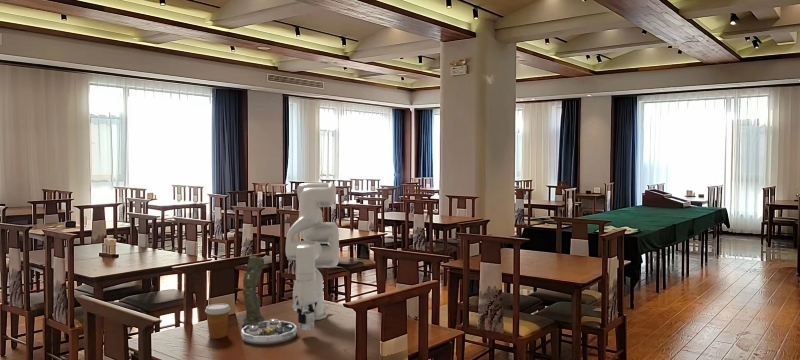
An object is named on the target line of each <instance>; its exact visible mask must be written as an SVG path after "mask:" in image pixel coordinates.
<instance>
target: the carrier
mask: <svg viewBox="0 0 800 360" xmlns="http://www.w3.org/2000/svg"><path fill="white" fill-rule="evenodd" d="M297 332H298V326H297V325H296V324H295V323H294V322H291V321H286V320H279V319H278V318H270V319H268V320H264V321H263V322H256V323H253V324H250V325H246V326H245V327H244V328H241V330H240V336H241V340H242V341H243V342H244V343H246V344H251V345H256V346H266V345H267V346H268V345H277V344H282V343H287V342H289V341H291V340H293V339H295V338H296V336H297Z"/></svg>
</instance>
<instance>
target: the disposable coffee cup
mask: <svg viewBox="0 0 800 360" xmlns="http://www.w3.org/2000/svg"><path fill="white" fill-rule="evenodd" d="M230 310H231V307H230V305H229V304H227V303H213V304H208V305H207V306H206V307H205V310H204V312H205V314H206V321H207V326H208V334H209V338H211V339H223V338H226V336H227V333H228V323H229V314H230V313H229V312H230Z"/></svg>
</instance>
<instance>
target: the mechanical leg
mask: <svg viewBox="0 0 800 360" xmlns="http://www.w3.org/2000/svg"><path fill="white" fill-rule="evenodd" d="M264 265H265V258H263V257H262V256H259V255H250V256H249V257H248V263H247V267H246V271H245V272H244V274H243V281H242V284H243V287H242V293H243V299H244V300H243V301H244V306H245V311H246V313H245V317H244V319H243V324H242V326H241V327H242V328H241V329H243V328H244V327H245V326H246V325H250V324H253V323H256V322H263V321H265V317H263V315H262V314H261V298H260V296H259V295H258V294H257V286H259V284H260V280H261V275H262V273H263V272H262V271H263V268H264Z"/></svg>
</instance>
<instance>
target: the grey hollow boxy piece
mask: <svg viewBox="0 0 800 360" xmlns="http://www.w3.org/2000/svg"><path fill="white" fill-rule="evenodd" d="M304 314H305V324H302V323H299V322H298V329H299V330H303V331H310V330H313V329H314V328H315V320H314V312H311V311H308V310H305V311H304Z"/></svg>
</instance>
